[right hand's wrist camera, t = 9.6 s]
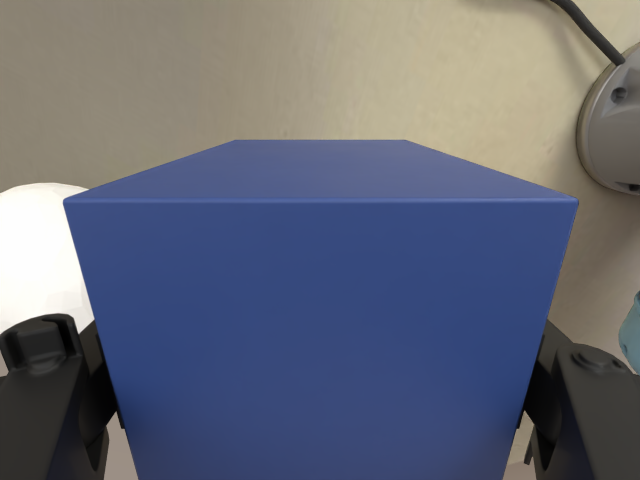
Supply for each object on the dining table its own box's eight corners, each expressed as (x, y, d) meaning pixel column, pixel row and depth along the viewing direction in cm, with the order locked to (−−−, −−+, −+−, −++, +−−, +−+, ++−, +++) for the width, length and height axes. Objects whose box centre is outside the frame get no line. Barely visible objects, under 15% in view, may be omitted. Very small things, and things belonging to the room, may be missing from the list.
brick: (248, 308, 19) (158, 557, 9) (233, 139, 16) (58, 198, 5) (392, 308, 19) (482, 557, 9) (406, 139, 16) (583, 198, 5)
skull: (166, 349, 44) (92, 467, 29) (20, 222, 38) (-166, 289, 23) (242, 292, 42) (205, 388, 27) (100, 146, 36) (-51, 166, 21)
